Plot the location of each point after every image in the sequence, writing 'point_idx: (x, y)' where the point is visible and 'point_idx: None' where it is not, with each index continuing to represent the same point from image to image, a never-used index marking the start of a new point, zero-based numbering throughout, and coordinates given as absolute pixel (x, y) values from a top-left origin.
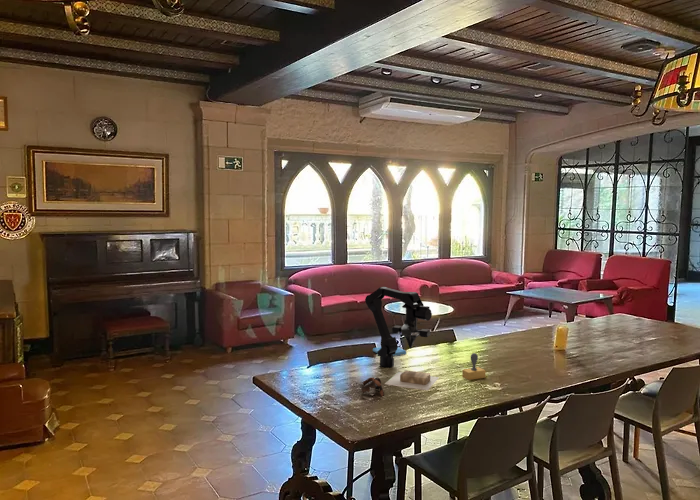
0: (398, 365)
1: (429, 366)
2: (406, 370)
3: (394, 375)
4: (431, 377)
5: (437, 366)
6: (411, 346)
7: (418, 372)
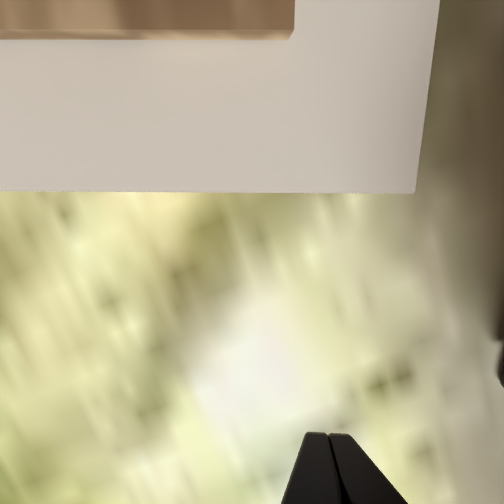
0: (458, 408)
1: (176, 476)
2: (277, 25)
3: (432, 32)
4: (3, 148)
5: (113, 498)
6: (294, 465)
7: (79, 4)
